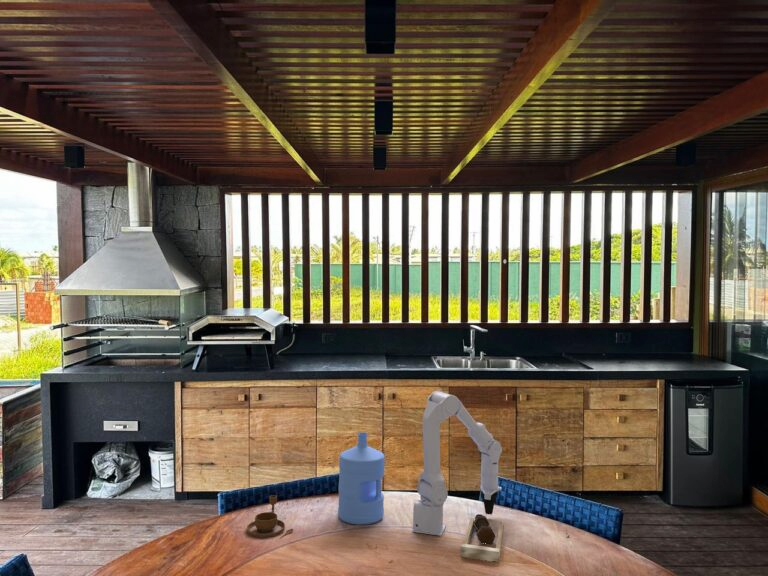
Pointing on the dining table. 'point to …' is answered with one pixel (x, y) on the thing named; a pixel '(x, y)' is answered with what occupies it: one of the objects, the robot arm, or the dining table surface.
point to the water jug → (361, 484)
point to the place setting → (268, 522)
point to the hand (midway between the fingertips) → (489, 513)
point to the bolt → (484, 530)
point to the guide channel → (481, 551)
